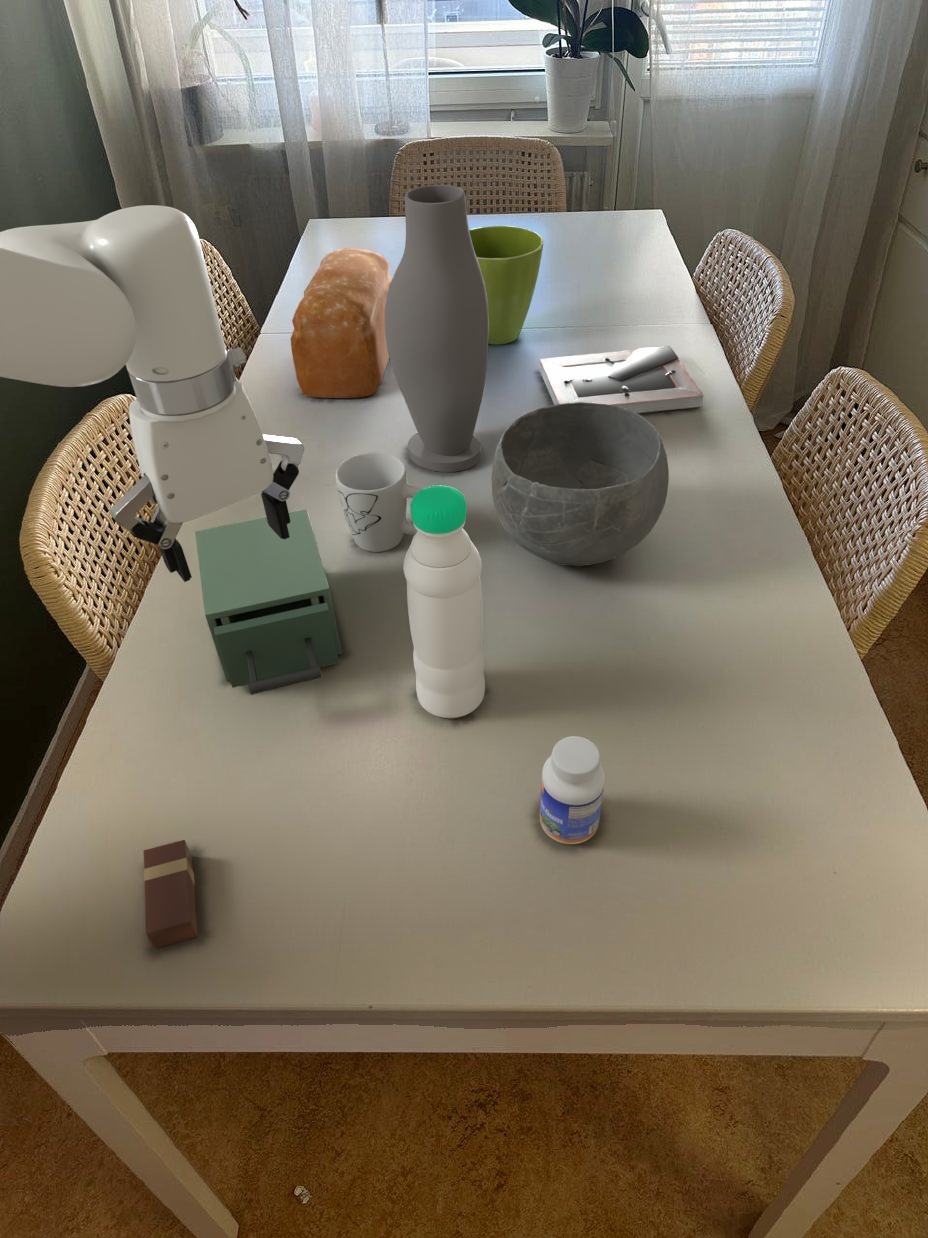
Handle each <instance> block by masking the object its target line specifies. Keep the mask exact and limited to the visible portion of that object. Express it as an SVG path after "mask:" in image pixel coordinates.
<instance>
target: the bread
mask: <svg viewBox="0 0 928 1238" xmlns="http://www.w3.org/2000/svg"><path fill="white" fill-rule="evenodd" d="M392 278H393V276H392V275H390V263H389V261H388V260H387V258H386V257H385V256H384V255H383V254H380V253H378V252H374V251H372V250H368V249H365V248H352V247H351V248H349V247H345V248H344V247H343V248H340V249H336V250H332V251H331V252H329V253H328V254H326V255H325V256H323V258H322V259H321V261H320V263H319V267H318V268H317V270H316V271H315V272H314V275H313V277H312V278H311V280H310V282H309V283H308V285H307V286H306V287H305V289H304V291H303V297H302V298H301V300H300V301H299V303H298V306H297V307H296V310H295V312H294V314H293V317H292V319H291V322H292V326H293V331H292V333H291V336H290V349H291V355H292V360H293V366H294V371H295V376H296V381H297V383H298V386H299V389H300V391H301V393H302V395H306V396H308V397H311V398H323V399H324V398H325V399H354V398H356V399H357V398H365V397H367V396H372V395H374V394H375V393H377V392H376V391H377V390H378V389H379V387H380V386H381V384H382V383H383V379H384V375H385V372H386V369H387V366H388V363H389V361H390V359H389V355H388V351H387V345H386V338H385V305H386V297H387V292H388V289H389V286H390V283H391V281H392Z"/></svg>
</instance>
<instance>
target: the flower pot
mask: <svg viewBox="0 0 928 1238" xmlns="http://www.w3.org/2000/svg"><path fill="white" fill-rule="evenodd" d="M469 232H470V236H471V240H472V244H473V248H474V251H475V254H476V257H477V260H478V263H479V266H480V269H481V272H482V275H483V279H484V283H485V288H486V293H487V301H488V319H489V325H488V345H506V344H511V343H513V342H514V341H516V340H517V339H518V338H519V336H520V333H521V331H522V329H523V326H524V325H525V321H526V318H527V315H528V313H529V309H530V306H531V303H532V300H533V296H534V292H535V289H536V285H537V281H538V278H539V277H538V276H539V272H540V267H541V261H542V257H543V256H542V255H543V250H544V244H545V243H544V242H545V241H544V238H543V237H542V236H541V235H540V233H538V232H536V231H533V230H532V229H529V228H524V227H519V226H514V225H513V226H512V225H490V226H482V227H475V228H472V229H469Z"/></svg>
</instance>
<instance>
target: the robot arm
mask: <svg viewBox="0 0 928 1238" xmlns="http://www.w3.org/2000/svg"><path fill="white" fill-rule="evenodd" d="M216 307H217V306H216V302H215V297H214V294H213V289H212V286H211V281H210V277H209V273H208V269H207V264H206V260H205V256H204V252H203V248H202V244H201V241H200V236H199V233H198V230H197V228H196V225H195V223H194V222H193V220H191V218H190V217H189V216H188V215H187V214H186V213H185V212H183V211H181V210H180V209H177V208H174V207H172V206H165V205H157V204H155V205H153V204H152V205H151V204H146V205H145V204H144V205H137V206H130V207H129V206H128V207H124V208H121V209H118V210H117V209H116V210H115V211H111V212H109V213H107V214H105V215H103V216H101V217H99V218H97V219H94V220H87V221H79V222H78V221H77V222H68V223H57V224H41V225H40V224H39V225H28V226H20V227H14V228H9V229H6V230H2V231H0V378H5V379H11V380H16V381H21V382H27V383H34V384H39V385H45V386H53V387H62V388H63V387H64V388H75V387H87V386H91V385H96V384H99V383H102V382H104V381H106V380H109V379H110V378H112V377H113V376H115V375H116V374H118V373H119V372H120V371H121V370H122V369H123V368H124V367H126V370H127V373H128V377H129V379H130V382H131V385H132V389H133V391H134V394H135V398H136V399H134V400H132V401H131V402H130V404H129V406H128V413H129V414H128V416H129V424H130V430H131V431H130V432H131V436H132V441H133V446H134V451H135V455H136V459H137V463H138V467H139V470H140V475H141V478H140V479H139V480H138V481H137V482H136V483H135V484H134V485H133V486H132V487H131V488H130V489H129V490H128V491H127V492H126V493H125V494H124V495H123V496H122V497H121V498H120V499H119V500H118V501H117V502H116V503H114V504H113V506H111V507H110V509H109V514H110V515H111V517H112V519H113V520H114V521H115V523H117V524H118V525H120V526H121V527H122V528H124V529H125V530H126V531H128V533H129V532H130V533H131V534H132V535H133V536H134V537H135V538H136V539H138V540H141V541H144V542H148V543H150V544H153V545H157V546H158V549H159V551H160V554H161V557H162V560H163V563H164V565H165V567H166V569H167V570H168V572H169V573H170V574H172V573H175V572H176V573H177V574H178V576H179V577H180V578H181V579H182V581H183V582H184V583H187V582H188V581H189V582H190V581H191V579H192V578H193V576H192V573H191V570H190V568H189V565H188V561H187V558H186V555H185V552H184V549H183V546H182V545H181V543H180V542H179V541H178V539H177V537H178V534H179V532H180V530H181V528H182V525H183V524H184V523H187V522H190V521H193V520H195V519H197V518H198V519H199V518H201V517H203V516H206V515H208V514H211V513H213V512H216V511H219V510H221V509H223V508H226V507H228V506H231V505H233V504H237V503H239V502H241V501H243V500H244V501H245V500H246V499H249V498H251V497H254V496H256V495H258V494H260V496H261V500H262V504H263V508H264V512H265V517H267V521H268V524H269V526H270V527H271V528H272V529H273V531H274V532H275V533H276V534H277V535H278V536H279V537H280V538H281V539H284V540H285V539H287V538H289V537H290V536H289V532H288V527H287V524H289V523H290V516H289V513H290V511H289V508H288V503H287V500H288V499H289V498H290V496H291V492H290V489H291V487H292V486H293V484H294V483H295V481H296V480H297V477H298V476H299V474H300V469H299V466H300V465H301V462H302V458H303V455H304V452H305V446H304V444H303V443H301V442H300V440H298V439H297V438H295V437H288V436H287V437H286V436H277V435H270V434H264V433H263V431H262V428H261V425H260V422H259V420H258V417H257V415H256V413H255V409H254V407H253V405H252V403H251V400H250V398H249V396H248V394H247V392H246V390H245V388H244V386H243V384H242V382H241V380H239V378H238V377H236V369H238V368H239V367H240V366H242V365H245V364H247V356H246V354H245V352H244V350H243V348H242V347H240V346H239V347H236V348H231V347H230V348H227V347H226V345H225V344H226V343H225V339H224V336H223V332H222V328H221V327H222V326H221V322H220V318H219V315H218V311H217V308H216ZM270 455H280V456H282V460H280V462H279V463H278V465H277V466H276V468H275V470H273V469H274V467H273V464H272V460H271V456H270ZM148 502H151V503H152V505H157V506H156V508H155V511H154V513H153V515H152V516H151V519H150V520H147V519H143V518H141V517H138V516H137V513H138V512H139V511H140V510H141V509H143V508H144V506H145V505H146V504H148Z"/></svg>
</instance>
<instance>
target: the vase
mask: <svg viewBox="0 0 928 1238" xmlns="http://www.w3.org/2000/svg"><path fill="white" fill-rule="evenodd" d="M466 200H467V199H466V193H465V190H464V189H463V188H461V187H458V186H456V185H451V184H427V185H421V186H417V187H414V188H412V189H409V190H408V191H406V193H405V194H404V216H405V243H404V244H405V245H404V251H403V254H402V257H401V259H400V262H399V264H398V266H397V268H396V270H395V271H394V274H393V276H392V281H391V283H390V286H389V289H388V292H387V297H386V305H385V338H386V345H387V351H388V355H389V362H390V366H391V368H392V371H393V375H394V376H395V378H396V382H397V384H398V387H399V390H400V391H401V394H402V396H403V399H404V401H405V404H406V407H407V409H408V411H409V415H410V417H411V419H412V422H413V424H414V427H415V429H416V431H417V432H416V433H414V434H413V435H412V436H410V438H409V439H408V442H407V448H408V450H407V451H408V456H409V458H410V460H411V462H413V463H414V464H416V465H417V466H418V467H421V468H424V469H426V470H429V471H434V472H440V473H455V472H460V471H461V472H462V471H465V470H469V469H470V468H473V467H474V466H476V465H477V464H478V463H479V462H480V461H481V457H482V449H481V443H480V440H479V439H478V438H477V437H476V436H475V435H474V433H475V429H476V426H477V425H476V424H477V422H478V418H479V417H478V416H479V413H480V410H481V405H482V401H483V398H484V392H485V386H486V377H487V370H488V369H487V367H488V366H487V365H488V354H489V353H488V352H489V344H488V325H489V319H488V301H487V293H486V288H485V283H484V279H483V275H482V272H481V269H480V266H479V263H478V260H477V257H476V254H475V251H474V248H473V244H472V240H471V236H470V232H469V230H470V228H469V221H468V213H467V201H466Z"/></svg>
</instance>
